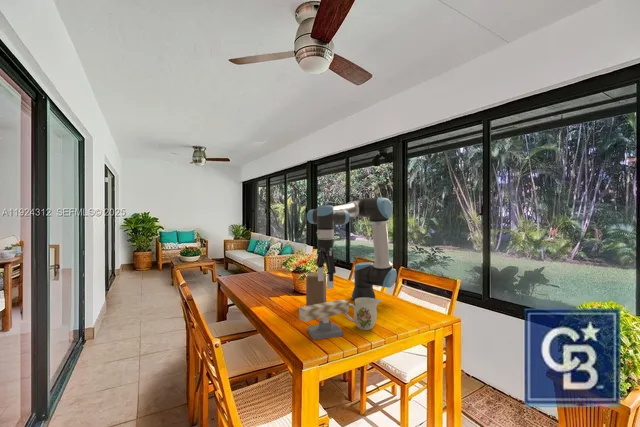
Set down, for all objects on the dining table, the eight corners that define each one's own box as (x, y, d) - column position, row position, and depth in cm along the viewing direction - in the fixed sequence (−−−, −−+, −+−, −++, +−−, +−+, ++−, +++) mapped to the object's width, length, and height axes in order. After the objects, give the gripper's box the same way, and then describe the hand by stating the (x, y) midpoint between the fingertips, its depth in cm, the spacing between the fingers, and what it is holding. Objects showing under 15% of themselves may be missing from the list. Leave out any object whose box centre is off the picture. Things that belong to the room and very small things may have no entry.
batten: (343, 309, 144) (343, 299, 144) (348, 312, 140) (348, 301, 140) (299, 318, 132) (299, 307, 132) (303, 321, 128) (303, 310, 128)
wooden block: (323, 312, 163) (323, 276, 163) (305, 311, 165) (305, 275, 165) (326, 306, 173) (326, 272, 173) (309, 305, 175) (310, 272, 175)
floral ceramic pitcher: (346, 321, 151) (346, 294, 150) (382, 324, 146) (382, 297, 146) (342, 329, 140) (343, 301, 140) (381, 333, 136) (381, 304, 135)
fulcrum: (335, 327, 143) (335, 309, 143) (343, 335, 133) (343, 317, 133) (307, 330, 139) (307, 313, 138) (313, 339, 129) (313, 320, 129)
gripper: (310, 236, 146) (310, 278, 147) (326, 241, 123) (326, 292, 123) (324, 235, 149) (324, 277, 149) (343, 241, 125) (343, 290, 125)
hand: (325, 284), depth 136 cm, fingers open, 13 cm apart
